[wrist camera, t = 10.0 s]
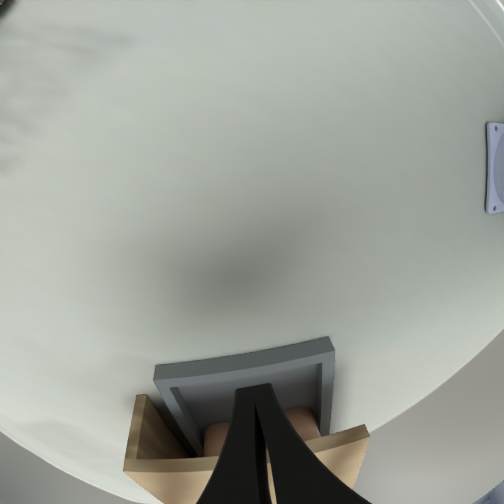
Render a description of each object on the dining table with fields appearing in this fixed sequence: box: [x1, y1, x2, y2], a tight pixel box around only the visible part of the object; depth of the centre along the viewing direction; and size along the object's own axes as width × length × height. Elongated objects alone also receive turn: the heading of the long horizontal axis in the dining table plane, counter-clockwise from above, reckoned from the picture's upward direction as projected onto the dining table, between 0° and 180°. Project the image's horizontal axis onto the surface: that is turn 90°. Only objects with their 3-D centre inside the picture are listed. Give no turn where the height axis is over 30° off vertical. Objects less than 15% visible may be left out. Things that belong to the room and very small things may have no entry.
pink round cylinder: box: [284, 407, 321, 441], centre depth 25 cm, size 4×4×4 cm
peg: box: [204, 422, 229, 457], centre depth 24 cm, size 4×4×4 cm
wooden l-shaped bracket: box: [123, 395, 370, 504], centre depth 23 cm, size 18×16×8 cm
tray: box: [153, 337, 335, 458], centre depth 26 cm, size 14×18×2 cm
